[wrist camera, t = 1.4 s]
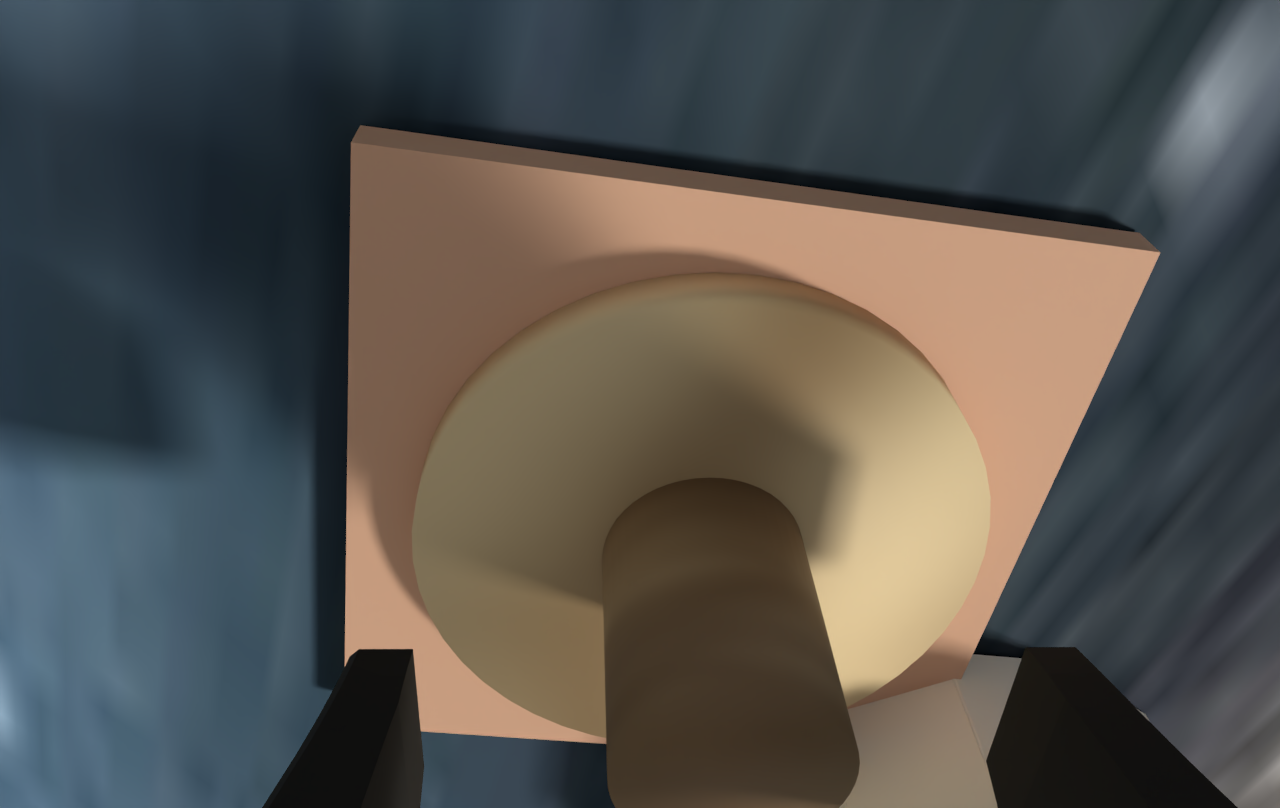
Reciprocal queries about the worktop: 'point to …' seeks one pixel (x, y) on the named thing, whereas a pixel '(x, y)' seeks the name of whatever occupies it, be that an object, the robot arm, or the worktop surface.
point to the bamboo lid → (702, 530)
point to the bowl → (933, 741)
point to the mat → (686, 244)
